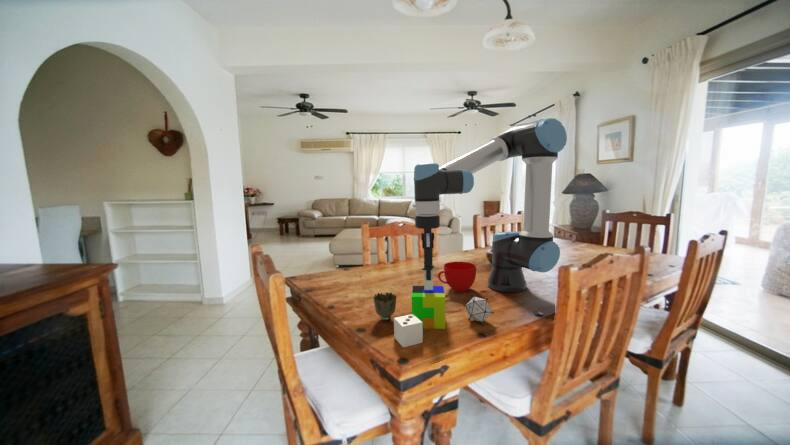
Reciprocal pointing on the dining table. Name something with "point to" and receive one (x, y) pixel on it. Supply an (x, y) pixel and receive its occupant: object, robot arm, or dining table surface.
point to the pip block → (408, 330)
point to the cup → (385, 305)
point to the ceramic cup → (459, 275)
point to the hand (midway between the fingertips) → (428, 288)
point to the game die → (478, 309)
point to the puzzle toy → (429, 306)
